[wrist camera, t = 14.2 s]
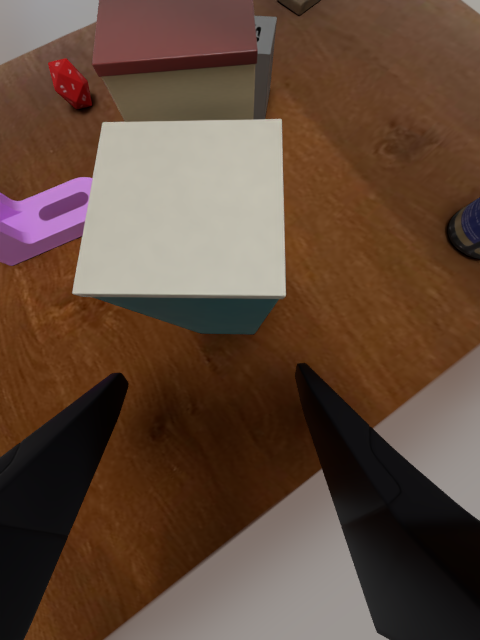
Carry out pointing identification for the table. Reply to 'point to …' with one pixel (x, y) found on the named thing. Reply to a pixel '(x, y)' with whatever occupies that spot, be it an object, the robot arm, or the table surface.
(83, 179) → the bracket
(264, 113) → the dice cube
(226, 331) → the teal block
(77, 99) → the die
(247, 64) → the block
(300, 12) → the figurine
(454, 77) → the table surface
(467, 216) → the pill bottle
